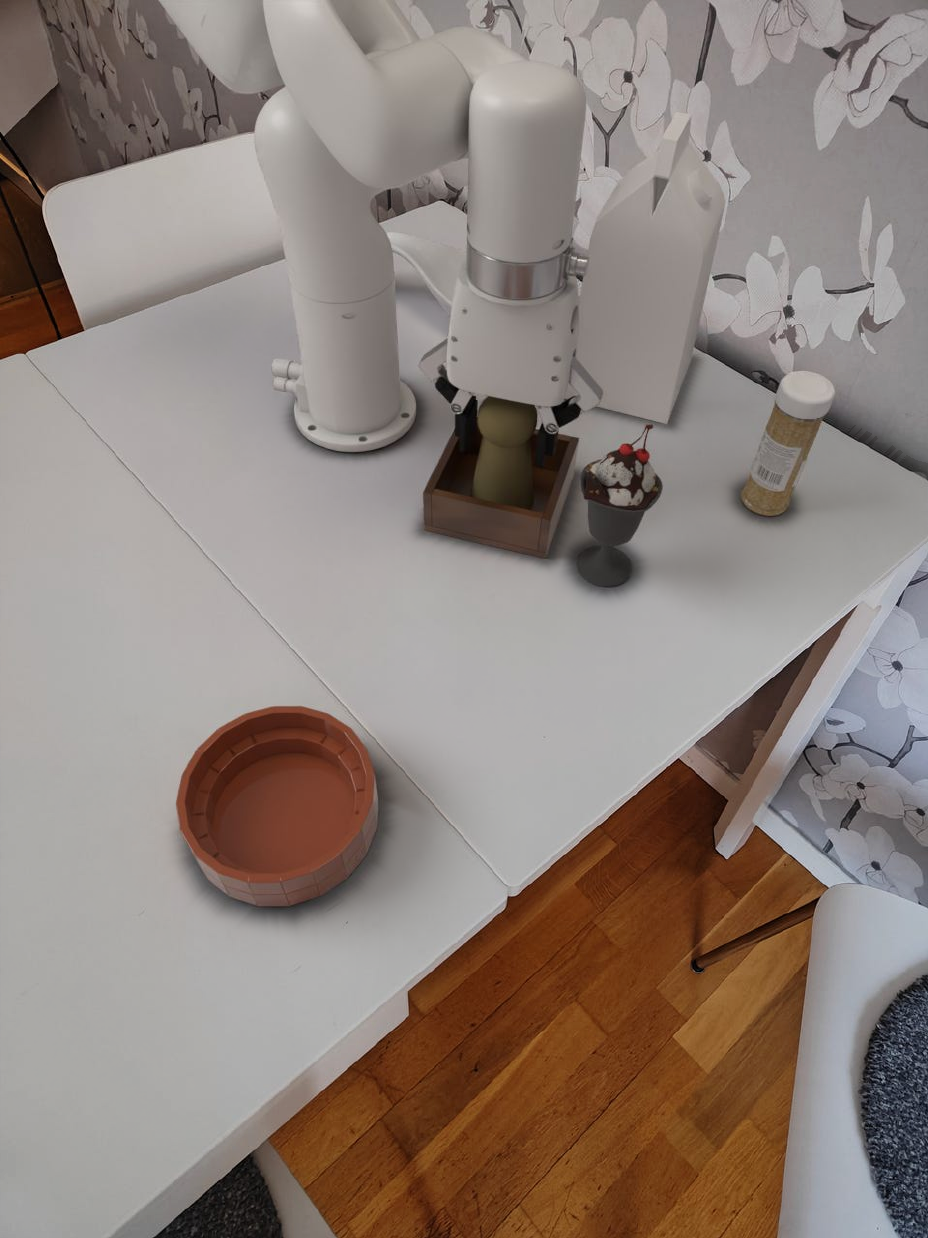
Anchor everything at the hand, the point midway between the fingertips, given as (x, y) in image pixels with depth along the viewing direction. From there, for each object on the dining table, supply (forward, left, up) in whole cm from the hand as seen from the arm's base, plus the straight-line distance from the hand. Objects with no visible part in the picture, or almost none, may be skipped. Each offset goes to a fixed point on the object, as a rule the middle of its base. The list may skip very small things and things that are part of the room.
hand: (505, 448), depth 78 cm
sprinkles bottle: (+24, +8, -7) cm, 26 cm away
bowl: (-6, -36, -7) cm, 37 cm away
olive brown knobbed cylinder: (0, 0, -6) cm, 6 cm away
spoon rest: (-16, +30, -7) cm, 35 cm away
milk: (+8, +23, -7) cm, 25 cm away
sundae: (+11, -5, -7) cm, 14 cm away
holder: (0, 0, -7) cm, 7 cm away
